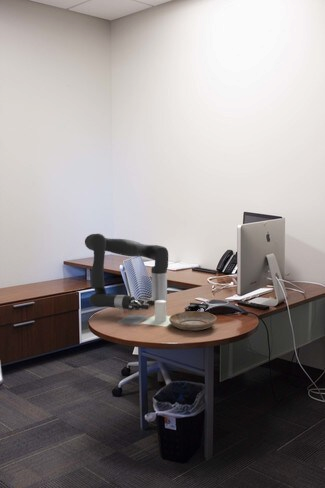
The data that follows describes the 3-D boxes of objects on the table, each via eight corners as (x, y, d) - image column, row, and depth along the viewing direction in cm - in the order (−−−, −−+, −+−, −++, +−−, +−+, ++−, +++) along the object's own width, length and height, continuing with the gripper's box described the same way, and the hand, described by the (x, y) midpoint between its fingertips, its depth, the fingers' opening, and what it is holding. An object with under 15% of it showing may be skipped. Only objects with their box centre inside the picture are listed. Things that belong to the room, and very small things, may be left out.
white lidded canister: (157, 318, 271) (157, 299, 270) (168, 319, 269) (168, 300, 267) (153, 321, 266) (152, 302, 264) (163, 322, 263) (163, 303, 262)
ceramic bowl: (187, 317, 273) (187, 308, 272) (225, 325, 258) (225, 315, 257) (160, 328, 255) (159, 318, 254) (198, 337, 240) (198, 327, 240)
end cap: (209, 315, 277) (209, 302, 276) (205, 318, 270) (205, 306, 269) (191, 313, 281) (191, 301, 280) (187, 316, 274) (187, 304, 273)
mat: (130, 314, 279) (130, 314, 279) (150, 317, 274) (150, 316, 274) (115, 323, 264) (115, 322, 264) (136, 325, 260) (136, 324, 259)
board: (155, 315, 278) (155, 314, 278) (179, 317, 272) (179, 317, 272) (141, 324, 262) (141, 323, 262) (166, 327, 256) (166, 326, 256)
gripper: (118, 298, 267) (146, 301, 261) (130, 292, 280) (157, 295, 274) (118, 312, 269) (146, 315, 262) (130, 305, 281) (157, 308, 275)
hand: (152, 305), depth 268 cm, fingers open, 8 cm apart
